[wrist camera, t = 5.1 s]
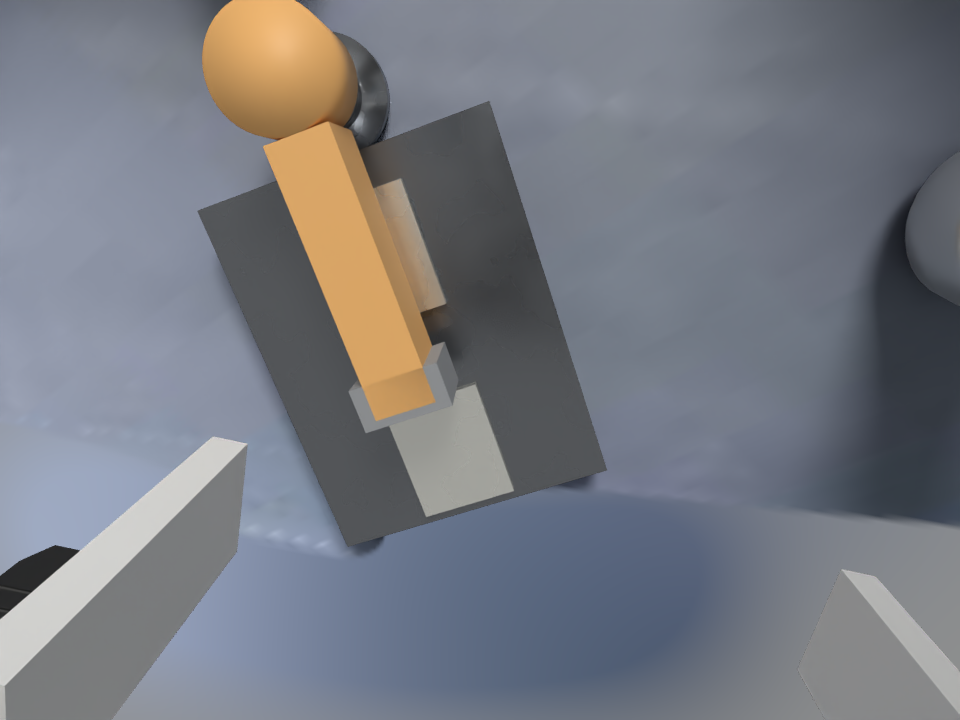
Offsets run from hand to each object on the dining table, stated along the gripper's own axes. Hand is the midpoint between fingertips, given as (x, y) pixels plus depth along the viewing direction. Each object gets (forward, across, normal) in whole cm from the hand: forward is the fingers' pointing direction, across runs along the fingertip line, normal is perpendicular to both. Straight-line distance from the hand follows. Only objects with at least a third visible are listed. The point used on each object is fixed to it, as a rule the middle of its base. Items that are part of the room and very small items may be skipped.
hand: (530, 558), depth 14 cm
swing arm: (+11, -8, +5) cm, 14 cm away
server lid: (+15, -5, 0) cm, 16 cm away
